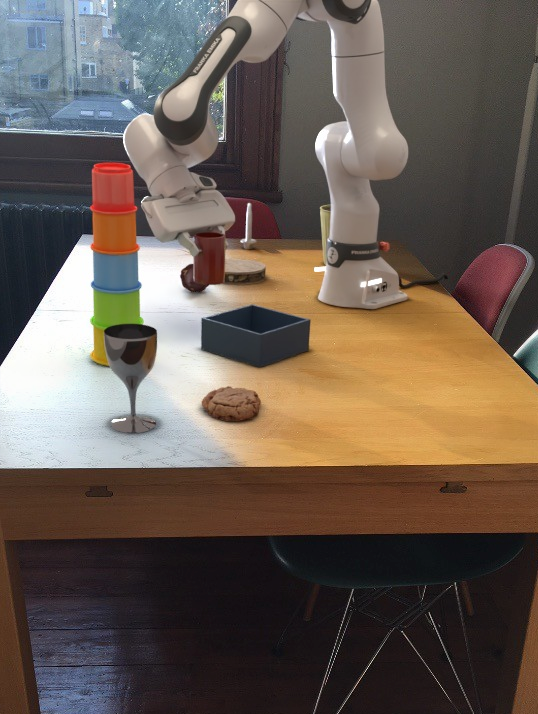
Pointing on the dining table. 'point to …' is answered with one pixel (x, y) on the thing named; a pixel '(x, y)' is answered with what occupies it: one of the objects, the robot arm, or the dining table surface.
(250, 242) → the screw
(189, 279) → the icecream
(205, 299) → the dining table surface
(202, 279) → the canister
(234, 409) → the cookie
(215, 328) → the tote
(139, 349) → the metal goblet
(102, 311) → the stacking cups
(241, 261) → the wood slice
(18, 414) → the dining table surface
